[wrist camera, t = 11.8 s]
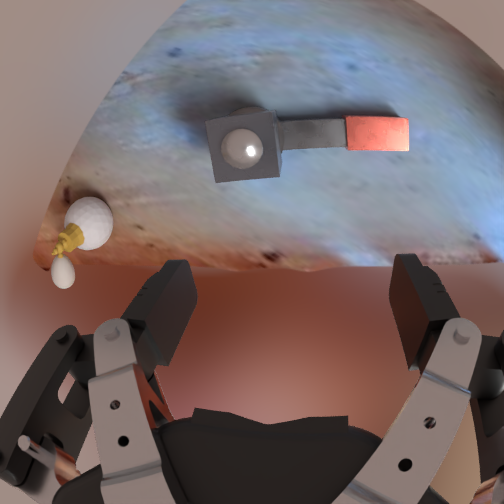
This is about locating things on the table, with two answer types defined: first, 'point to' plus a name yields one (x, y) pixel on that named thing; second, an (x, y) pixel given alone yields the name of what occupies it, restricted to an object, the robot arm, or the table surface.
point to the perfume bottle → (80, 235)
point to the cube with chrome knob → (245, 146)
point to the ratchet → (342, 132)
